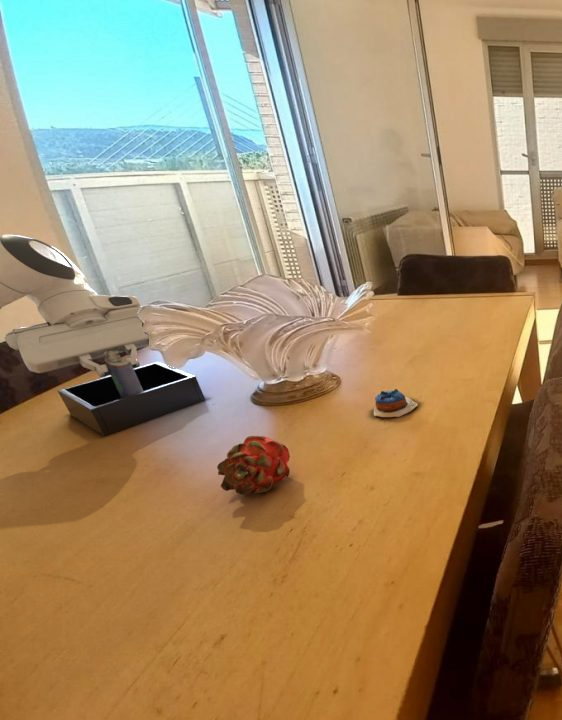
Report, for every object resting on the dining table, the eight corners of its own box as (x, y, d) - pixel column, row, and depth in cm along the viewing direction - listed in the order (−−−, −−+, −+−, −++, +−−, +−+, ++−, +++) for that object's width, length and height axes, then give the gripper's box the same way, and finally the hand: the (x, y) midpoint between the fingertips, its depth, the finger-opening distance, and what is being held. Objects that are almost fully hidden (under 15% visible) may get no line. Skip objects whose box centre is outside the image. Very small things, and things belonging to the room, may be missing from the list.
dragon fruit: (263, 518, 67) (262, 487, 76) (308, 467, 70) (301, 444, 79) (200, 490, 62) (206, 461, 72) (251, 437, 65) (250, 416, 74)
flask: (151, 403, 94) (128, 353, 90) (131, 409, 92) (107, 358, 88) (136, 392, 99) (113, 344, 95) (117, 397, 97) (93, 349, 92)
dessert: (361, 413, 90) (370, 383, 91) (384, 417, 96) (393, 388, 97) (396, 421, 88) (405, 390, 89) (418, 424, 94) (426, 395, 95)
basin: (104, 436, 86) (90, 409, 84) (70, 415, 94) (57, 390, 92) (205, 399, 99) (195, 376, 97) (168, 383, 107) (158, 361, 105)
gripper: (-4, 322, 83) (41, 383, 83) (145, 294, 100) (184, 345, 99) (2, 342, 87) (45, 400, 86) (145, 312, 103) (182, 361, 103)
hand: (121, 370), depth 93 cm, fingers closed on flask, 3 cm apart
